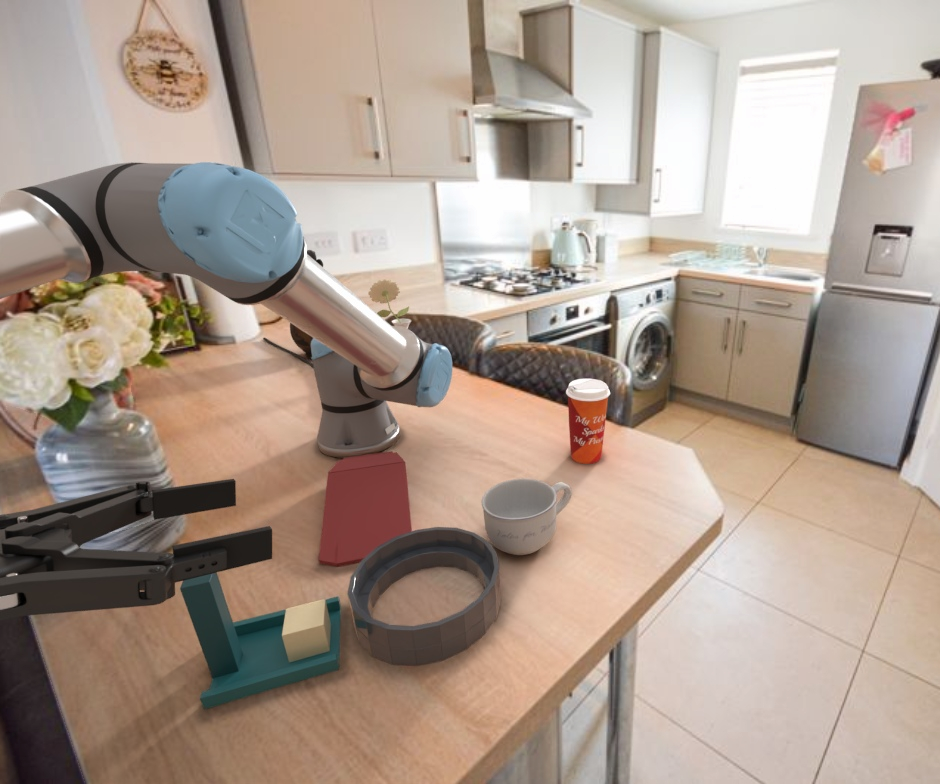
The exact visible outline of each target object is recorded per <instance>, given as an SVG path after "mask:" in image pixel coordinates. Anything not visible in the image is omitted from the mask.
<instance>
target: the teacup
mask: <svg viewBox="0 0 940 784" xmlns="http://www.w3.org/2000/svg"><path fill="white" fill-rule="evenodd" d="M561 491H563V494H562V497H560V500H559V501H558V502H557V500H558V493H559V492H561ZM572 493H573V492H572V489H571V487H570V485H569V484H567V483H566V482H563V481H560V482H559V481H558V482H556V483H555V484H553V485H550V484H549V483H547V482H545V481H542V480H539V479H535V478H515V479H514V478H513V479H509V480H505V481H502V482H501V481H500V482H499V483H497V484H494V485H493V486H491V487H490V488H489V489H487V490H486V491H485V492H484V494H483V496H482V498H481V507H482V510H483V520H484V527H485V532H486V533H485V534H486V536H487V539H488V540H489V543H490V544H492V546H493V547H495V548H496V549H497V550H499V551H501V552H504V553H507V554H509V555H514V556H526V555H529V554H533V553H535V552H538V551H539V550H540V549H542V548H543V547H545V546H546V545H547V544H548V543H550V541H551V540H552V539H553V537H554V535H555V534H556V529H557V522H558V521H557V520H558V519H557V516H558V515H559V514H560V513H561V512H562V511H563V510H564V509H565V508H566V506H567V505H568V504H569V503H570V501H571V499H572Z"/></svg>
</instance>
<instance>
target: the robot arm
mask: <svg viewBox="0 0 940 784" xmlns="http://www.w3.org/2000/svg"><path fill="white" fill-rule="evenodd" d="M297 217H298V212H297V209H296V208H295V206H294V205H293V202H291V200H290V199H289V197H288V196H287V195H286V194H285V192H284V191H283V190H282V189H281V188H280V187H279V186H278V185H277V184H275V183H274V182H272V181H271V180H270V179H269V178H267V177H266V176H264V175H262V174H260V173H258V172H256V171H253V170H251V169H248V168H245V167H240V166H234V165H233V166H232V165H229V164H224V163H220V162H206V161H203V162H202V161H201V162H194V163H170V162H169V163H162V162H161V163H160V162H159V163H158V162H157V163H154V162H152V163H151V162H123V163H113V164H110V165H105V166H101V167H97V168H94V169H90V170H87V171H83V172H79V173H76V174H72V175H68V176H65V177H61V178H58V179H53V180H49V181H46V182H41V183H38V184H35V185H30V186H27V187H22V188H18V189H13V190H9V191H7V192H4V193H3V195H2V196H1V198H0V300H2V299H5V298H7V297H10V296H14V295H16V294H18V293H22V292H24V291H25V292H26V291H28V290H30V289H33V288H37V287H39V286H42V285H45V284H48V283H51V282H54V281H57V280H60V281H63V282H67V283H71V284H80V283H83V282H87V281H89V280H92V279H95V278H97V277H101V276H105V275H109V274H115V273H123V272H157V273H164V274H172V275H173V274H175V275H184V276H188V277H191V278H193V279H195V280H197V281H199V282H201V283H202V284H204V285H206V286H208V287H209V288H210V289H213V291H216V292H217V293H219V294H220V295H223V296H224V297H226V298H227V299H229V300H230V301H233V302H234V303H236V304H239V305H243V306H256V305H262V306H263V307H265V308H267V309H268V310H270V311H271V312H273V313H275V314H276V315H278V316H279V317H280V318H282V319H283V320H285V321H286V322H288V323H289V324H290V323H291V324H293V325H294V326H296V327H297V328H299V329H300V330H302V331H304V332H305V333H307V334H308V335H310V336H311V337H313V339H312V341H311V352H312V357H311V359H310V360H311V361H312V362H311V361H310V360H309V359H308V358H306V357H303V356H302V355H299V354H297V353H295V352H294V351H291V350H289V349H288V348H286V347H283V346H281V345H279V344H277V343H275V342H273V341H271V340H270V339H268V338H266V337H263V338H262V340H263V341H265V342H266V343H268V344H269V345H271V346H273V347H275V348H277V349H279V350H281V351H283V352H285V353H288V354H289V355H292V356H293V357H295V358H298V359H299V360H301V361H303V362H304V363H306V364H307V365H309V367H311V368H312V369H313V372H314V376H315V381H316V386H317V391H318V395H319V399H320V400H319V401H320V405H321V416H320V421H319V426H318V433H317V437H316V440H317V444H318V449H319V451H320V452H321V453H322V454H324V455H326V456H329V457H332V458H339V459H340V458H341V459H343V458H347V457H354V456H361V455H368V454H375V453H381V452H384V451H385V450H387V449H388V448H390V447H392V446H394V444H396V443H397V442H398V440H399V439H400V436H401V432H400V431H401V430H400V424H399V423H398V420H397V419H396V417H395V415H394V413H393V411H392V410H391V408H390V405H389V404H388V402H391V403H394V404H395V403H396V404H401V405H402V404H403V405H408V406H414V407H417V408H434V407H436V406H438V405H439V404H441V402H442V401H443V400H444V399H445V397H446V396H447V394H448V391H449V389H450V385H451V383H452V378H453V359H452V358H453V357H452V355H451V352H450V350H449V349H448V347H446V346H445V345H443V344H439V343H437V342H434V343H428V342H425V341H424V340H422V339H421V338H420V337H419V336H418V335H416V333H414V332H413V331H411V329H409V328H408V329H407V328H405V327H402V326H395V325H391V324H390V323H389V322H388V321H386V320H385V319H384V317H380V316H379V315H378V314H377V313H378V312H376V311H375V310H374V309H372V308H371V306H369V305H368V304H367V303H365V302H364V301H363V300H362V299H361V298H359V297H358V295H356V294H355V293H354V292H353V291H351V290H350V289H349V288H348V287H346V286H345V285H344V284H343V283H342V282H341V281H340V280H338V279H337V278H336V277H335V276H333V275H332V274H331V272H329V271H328V270H326V268H325V267H324V266H323V267H322V266H321V265H320V264H318V263H317V262H316V261H315V260H314V259H312V258H311V257H310V256H309V255H308V254H307V250H308V247H307V246H308V245H307V240H306V239H305V236H304V232H303V227H302V224H301V223H299V222H297V219H296V218H297ZM236 483H237V482H236V479H235V478H229V479H222V480H213V481H208V482H200V483H193V484H187V485H178V486H172V487H165V488H158V489H157V488H156V489H151V482H150V481H137V482H135V484H132V483H131V484H128V485H124V486H121V487H115V488H113V489H108V490H104V491H101V492H97V493H92V494H89V495H85V496H84V495H83V496H81V497H77V498H73V499H69V500H65V501H60V502H57V503H53V504H49V505H45V506H41V507H38V508H37V507H36V508H33V509H27V510H22V511H16V512H11V513H4V514H0V622H1V621H6V620H11V619H17V618H20V617H25V616H38V615H39V616H40V615H49V614H51V615H52V614H63V613H64V614H65V613H76V612H89V611H100V610H111V609H127V608H137V607H150V606H157V605H161V604H163V603H165V602H166V601H167V600H169V599H172V598H173V597H175V595H176V583H180V582H183V581H184V580H188V579H192V578H196V577H200V576H204V575H208V574H212V573H217V574H218V573H220V572H224V571H228V570H234V569H237V568H241V567H245V566H249V565H254V564H257V563H262V562H265V561H269V560H273V528H272V527H271V526H270V525H267V526H263V527H258V528H257V527H256V528H252V529H247V530H242V531H238V532H232V533H229V534H228V533H227V534H224V535H223V534H222V535H219V536H218V535H217V536H213V537H208V538H204V539H199V540H194V541H193V540H192V541H189V542H184V543H179V544H175V545H172V552H161V551H160V552H158V551H157V552H156V551H137V550H116V549H115V550H113V549H93V548H81V546H82V545H84V544H86V543H89V542H92V541H94V540H96V539H98V538H100V537H102V536H106V535H107V534H110V533H113V532H115V531H117V530H119V529H122V528H124V527H126V526H129V525H131V524H133V523H136V522H139V521H141V520H143V519H146V518H148V517H150V516H152V515H153V516H152V517H153V520H154V521H155V520H156V521H157V520H161V519H162V520H163V519H168V518H172V517H178V516H184V515H185V516H186V515H190V514H196V513H202V512H208V511H213V510H220V509H224V508H225V509H226V508H231V507H236V506H237V487H236Z"/></svg>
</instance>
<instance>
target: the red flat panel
mask: <svg viewBox="0 0 940 784" xmlns="http://www.w3.org/2000/svg"><path fill="white" fill-rule="evenodd" d="M406 464H407V463H406V460H405V459H403V457H402V456H401V455H400V454H399V453H398V452H397V451H395V452H394V451H393V450H389V451H381V452H378V453H374V454H368V455H361V456H354V457H347V458H342V459H339V460H337V462H336V463H335V464H334V465H333V466H332V467H331V469H330V470H329V471H328V472H327V479H326V489H325V496H324V497H325V498H324V505H323V506H324V508H323V517H322V524H321V525H322V526H321V533H320V534H321V536H320V544H319V545H320V546H319V553H318V563H319V564H320V565H325V566H331V567H342V566H343V567H344V566H348V565H354V564H357V563H358V564H359V563H360V562H361V560H363V559H364V558H365V557H366V556H367V555H368V554H369V553H371V552H372V551H373V550H374V549H375V548H377V547H378V546H380V545H381V544H383V543H385V542H387V541H389V540H390V539H392V538H394V537H396V536H399V535H402V534H405V533H408V532H411V531H413V530H412V529H413V528H412V520H411V508H410V498H409V497H410V495H409V487H408V475H407V465H406Z"/></svg>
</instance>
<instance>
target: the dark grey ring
mask: <svg viewBox="0 0 940 784" xmlns="http://www.w3.org/2000/svg"><path fill="white" fill-rule="evenodd" d="M499 563H500V562H499V559H498V553H497V551H496V550H495V549H494V546H493V545H491V542H490V541H488V540H487V539H485V538H484V537H482V536H480V535H479V534H478V533H476V532H473V531H469V530H466V529H463V528H459V527H451V526H450V527H449V526H448V527H447V526H445V527H444V526H434V527H427V528H420V529H415V530H412V531H411V532H408V533H405V534H402V535H399V536H396V537H394V538H392V539H390V540H389V541H387V542H385V543H383V544H381V545H380V546H378V547H377V548H375V549H374V550H373V551H372V552H371V553H369V554H368V555H367V556H366V557H365V558H364V559H363V560H361V562H359V563H358V564H357V567H355V568H354V569H355V570H353V572H352V574H351V575H350V579H349V584H348V589H347V598H348V604H349V607H350V613H351V618H352V623H353V627H354V631H355V635H356V637H357V641H358V644H359V645H360V646H361V647H362V648H363V649H364V650H365V651H366V653H367V654H369V655H370V656H371V657H372V658H373V659H377V660H379V661H382V662H384V663H386V664H389V665H392V666H404V667H405V666H407V667H420V666H425V665H431V664H434V663H439V662H443V661H446V660H448V659H450V658H452V657H454V656H456V655H458V654H461V653H462V652H464V651H467V650H468V649H469V648H470V647H472V646H473V645H474V644H475V643H476V642H478V641H479V640H480V639H482V637H484V636H485V635H486V634H487V632H488V631H489V629H490V628H491V627H492V625H493V623H494V622H496V621H497V618H498V614H499V610H500V606H501V604H502V603H501V602H502V595H501V594H502V593H501V576H500V575H501V573H500V564H499ZM438 567H439V568H454V569H458V570H461V571H465V572H468V573H469V574H470V575H472V576H473V577H475V578H476V579H478V581H479V583H480V584H481V586H482V588H483V591H482V593H481V594H480V595H479V596H478V598H476V599H475V600H474V601H472V602H471V603H470V604H469V605H467V606H466V607H465V608H463V609H462V610H460V611H458V612H456V613H453V614H450V616H449V615H448V616H447V617H444V618H442V619H439V620H437V621H432V622H426V623H422V624H416V625H405V624H404V625H401V624H389V623H386V622H383V621H381V620H377V619H376V618H372V617H373V609H374V608H375V605H376V604H377V602H378V600H379V598H380V596H382V595H383V593H385V592H386V591H387V589H388V588H389V587H390V586H391V585H393V584H395V583H396V582H398V581H399V580H401V579H402V578H404V577H406V576H408V575H411V574H413V573H415V572H418V571H421V570H426V569H432V568H438Z"/></svg>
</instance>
